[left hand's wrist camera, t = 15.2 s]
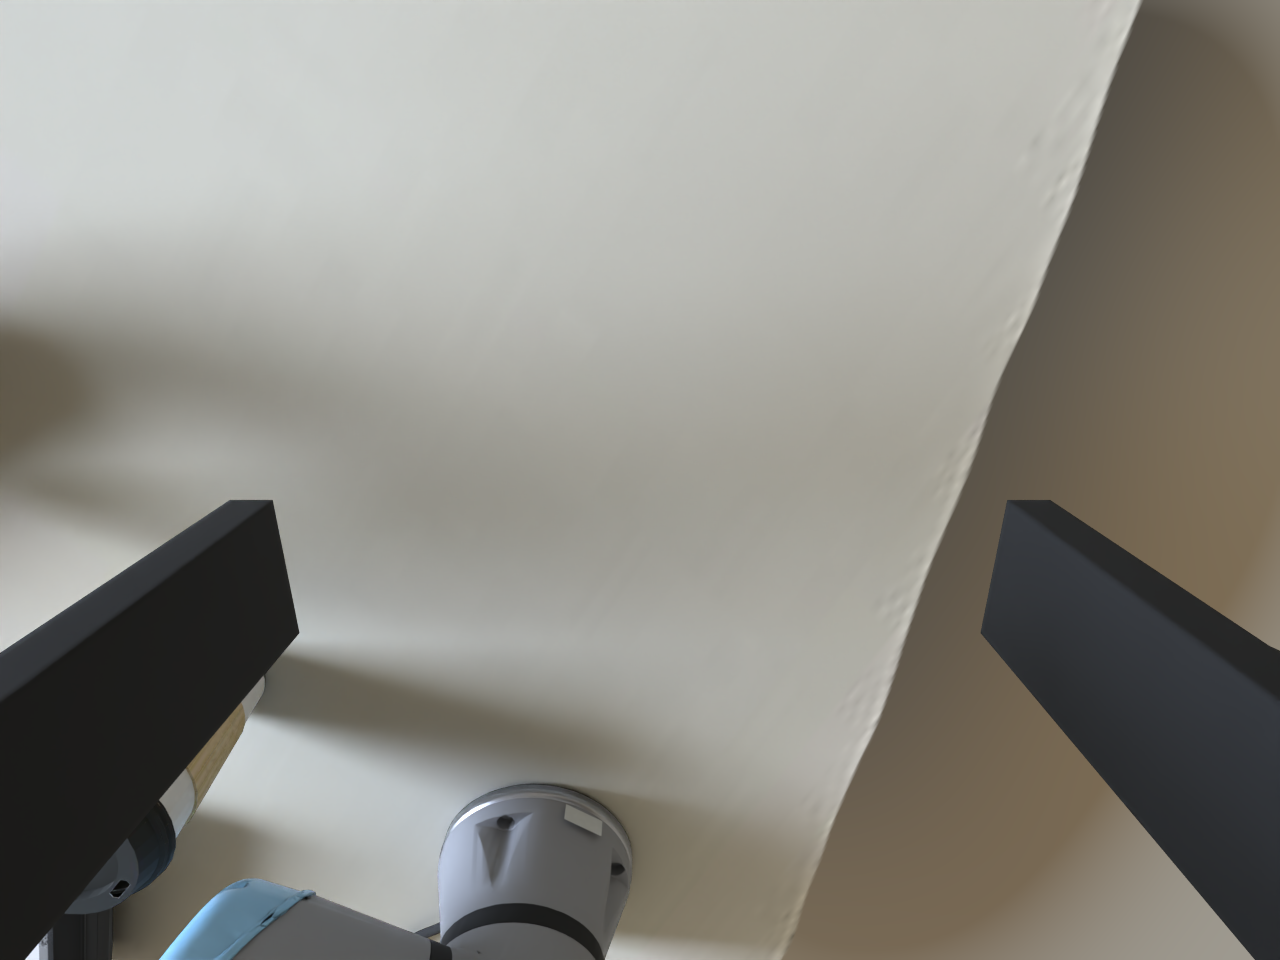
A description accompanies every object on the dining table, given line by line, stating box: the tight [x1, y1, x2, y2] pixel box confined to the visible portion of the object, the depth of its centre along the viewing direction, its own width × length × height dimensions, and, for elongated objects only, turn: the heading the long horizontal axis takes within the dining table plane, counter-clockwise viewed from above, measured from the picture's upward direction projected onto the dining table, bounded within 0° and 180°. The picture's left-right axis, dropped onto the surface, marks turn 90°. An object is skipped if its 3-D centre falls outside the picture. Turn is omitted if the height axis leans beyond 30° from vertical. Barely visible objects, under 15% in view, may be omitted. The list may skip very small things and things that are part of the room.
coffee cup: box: [65, 676, 265, 914], centre depth 42 cm, size 10×10×15 cm
